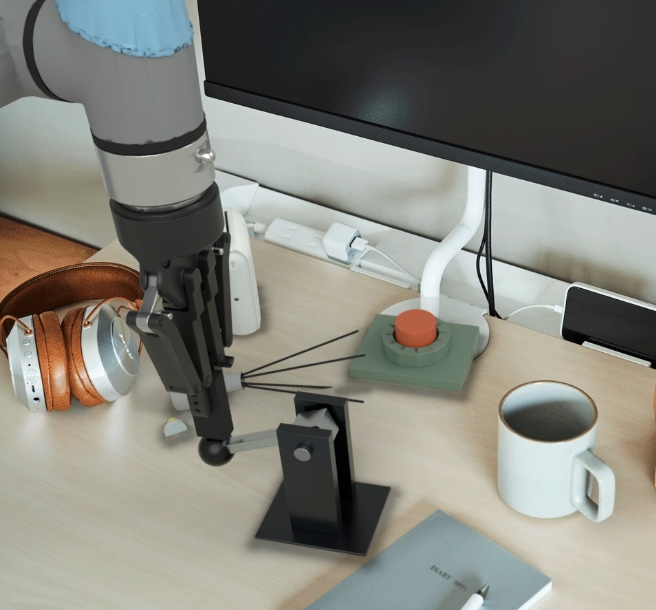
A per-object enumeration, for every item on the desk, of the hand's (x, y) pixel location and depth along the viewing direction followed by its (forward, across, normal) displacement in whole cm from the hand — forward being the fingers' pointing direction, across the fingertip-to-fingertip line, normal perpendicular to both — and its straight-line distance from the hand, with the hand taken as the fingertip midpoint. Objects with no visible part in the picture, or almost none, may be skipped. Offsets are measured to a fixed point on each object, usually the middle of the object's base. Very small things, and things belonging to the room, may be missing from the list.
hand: (215, 432), depth 79 cm
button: (+5, +23, -12) cm, 27 cm away
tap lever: (+1, 0, -5) cm, 5 cm away
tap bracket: (+9, 0, -9) cm, 13 cm away
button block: (+9, +24, -12) cm, 28 cm away
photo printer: (+9, +28, +11) cm, 32 cm away
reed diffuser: (+9, +13, +2) cm, 16 cm away
